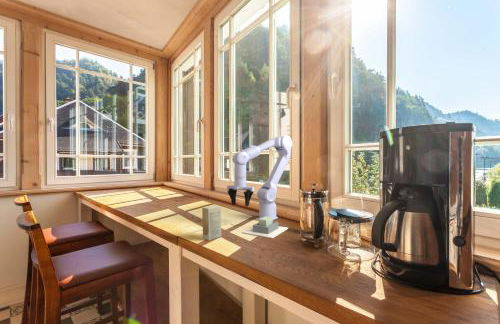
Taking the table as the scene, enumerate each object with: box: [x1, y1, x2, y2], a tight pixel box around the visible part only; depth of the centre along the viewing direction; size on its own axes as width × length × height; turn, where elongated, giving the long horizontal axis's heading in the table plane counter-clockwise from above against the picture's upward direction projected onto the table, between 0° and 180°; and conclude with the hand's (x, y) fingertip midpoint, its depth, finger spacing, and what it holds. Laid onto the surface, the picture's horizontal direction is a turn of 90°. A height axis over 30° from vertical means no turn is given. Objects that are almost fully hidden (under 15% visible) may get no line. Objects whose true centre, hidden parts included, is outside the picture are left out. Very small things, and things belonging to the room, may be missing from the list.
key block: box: [258, 216, 274, 226], centre depth 108 cm, size 4×6×5 cm, turn 149°
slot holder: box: [241, 221, 289, 239], centre depth 108 cm, size 16×14×3 cm
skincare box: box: [201, 204, 222, 241], centre depth 99 cm, size 6×4×12 cm
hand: (240, 205), depth 122 cm, fingers open, 7 cm apart
